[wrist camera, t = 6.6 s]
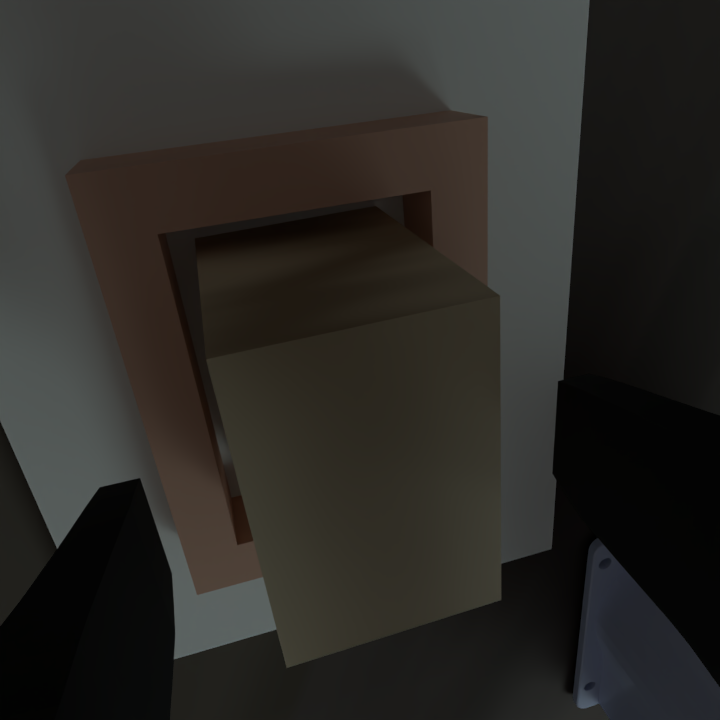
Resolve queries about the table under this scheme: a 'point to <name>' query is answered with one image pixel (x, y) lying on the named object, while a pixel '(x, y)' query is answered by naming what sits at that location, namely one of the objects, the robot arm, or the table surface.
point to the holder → (255, 209)
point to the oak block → (357, 423)
